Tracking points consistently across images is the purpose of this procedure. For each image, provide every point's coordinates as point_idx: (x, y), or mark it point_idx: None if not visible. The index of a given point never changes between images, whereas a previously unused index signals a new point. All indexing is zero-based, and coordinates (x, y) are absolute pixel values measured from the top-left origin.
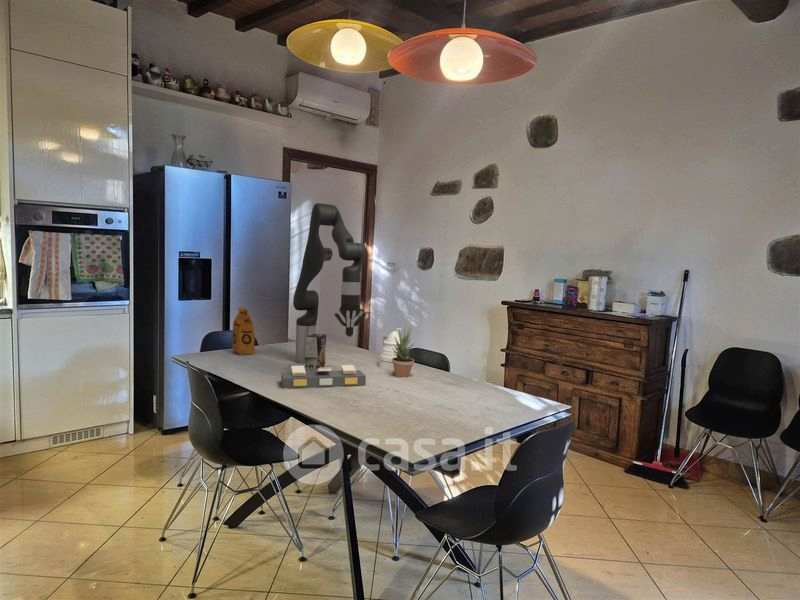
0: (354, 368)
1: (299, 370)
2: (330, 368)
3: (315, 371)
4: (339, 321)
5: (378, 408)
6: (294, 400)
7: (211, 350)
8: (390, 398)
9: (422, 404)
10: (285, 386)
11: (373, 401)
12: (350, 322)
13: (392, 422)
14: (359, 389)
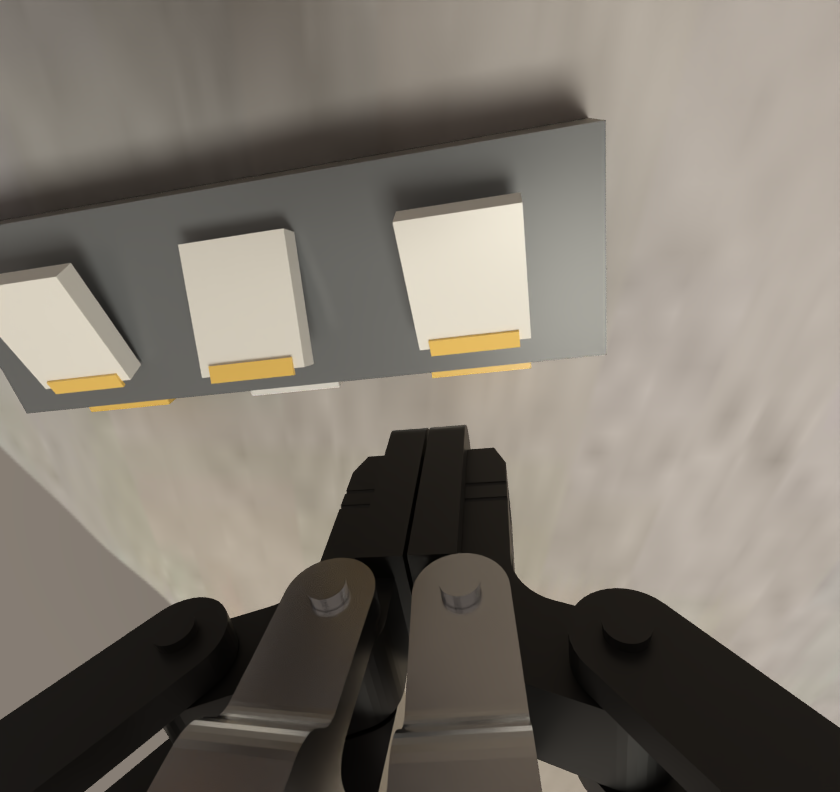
0: (523, 291)
1: (67, 351)
2: (299, 367)
3: (178, 204)
4: (44, 727)
5: None
6: (191, 566)
7: None
8: (667, 576)
9: (795, 662)
10: None
11: None
12: (429, 696)
13: (570, 786)
14: (529, 411)
